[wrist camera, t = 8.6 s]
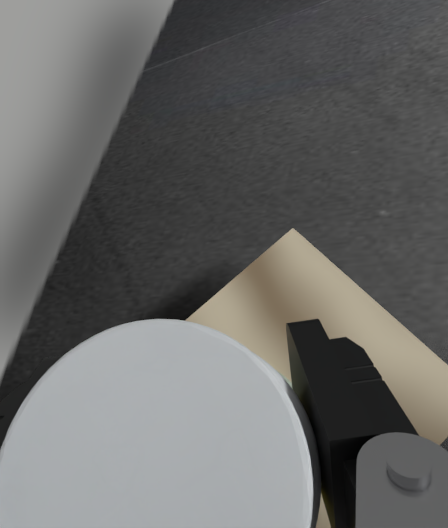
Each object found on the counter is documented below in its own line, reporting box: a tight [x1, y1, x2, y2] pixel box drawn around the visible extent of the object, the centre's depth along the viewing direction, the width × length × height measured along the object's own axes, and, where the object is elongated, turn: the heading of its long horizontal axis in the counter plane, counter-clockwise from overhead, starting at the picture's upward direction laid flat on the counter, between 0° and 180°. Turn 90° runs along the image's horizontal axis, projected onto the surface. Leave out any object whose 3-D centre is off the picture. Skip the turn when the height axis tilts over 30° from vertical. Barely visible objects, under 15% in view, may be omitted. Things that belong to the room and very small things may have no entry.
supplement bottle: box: [0, 319, 321, 528], centre depth 9 cm, size 5×5×8 cm
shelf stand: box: [185, 228, 448, 528], centre depth 21 cm, size 20×12×6 cm, turn 131°
